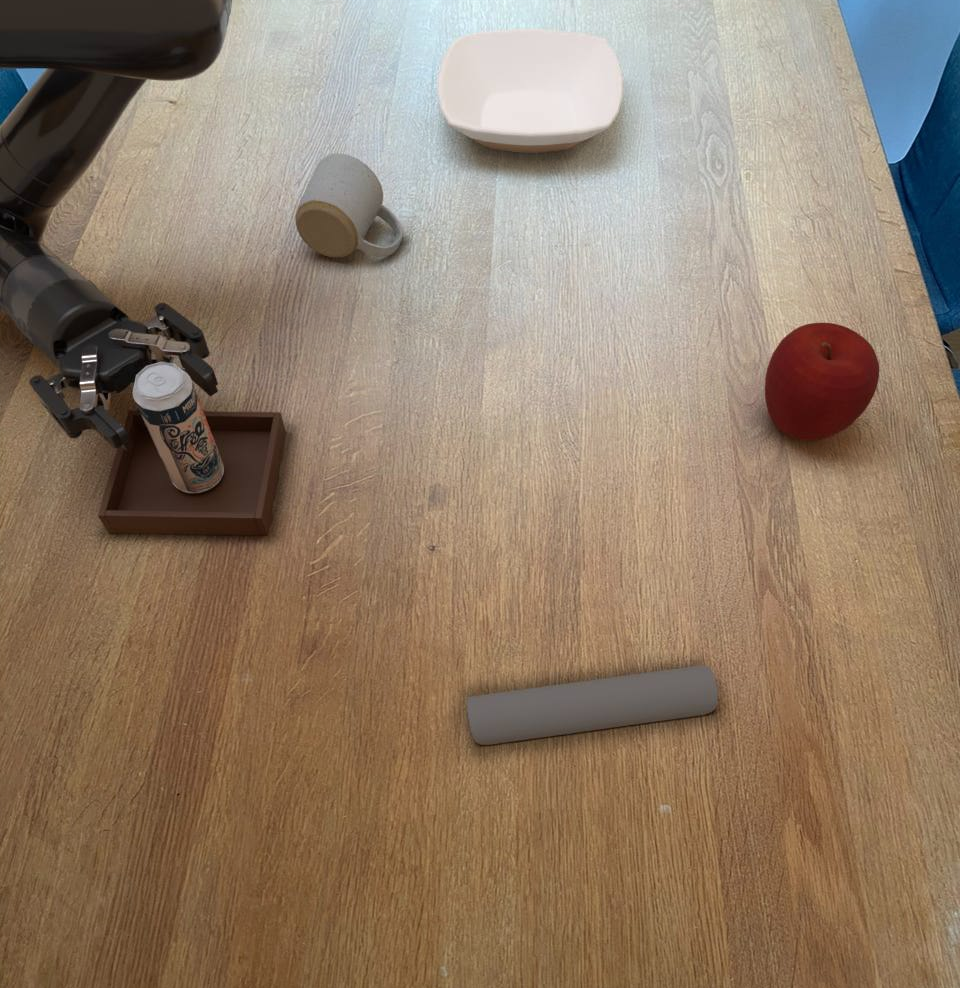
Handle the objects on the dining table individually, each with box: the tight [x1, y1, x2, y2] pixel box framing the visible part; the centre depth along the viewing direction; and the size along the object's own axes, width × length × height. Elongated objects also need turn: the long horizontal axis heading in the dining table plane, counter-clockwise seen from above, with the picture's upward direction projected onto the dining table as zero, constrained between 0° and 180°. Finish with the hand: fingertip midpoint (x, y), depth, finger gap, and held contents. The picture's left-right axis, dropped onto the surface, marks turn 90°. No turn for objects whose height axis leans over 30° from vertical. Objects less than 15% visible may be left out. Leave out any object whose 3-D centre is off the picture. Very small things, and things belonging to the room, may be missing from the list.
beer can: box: [132, 362, 224, 493], centre depth 80 cm, size 5×5×12 cm
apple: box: [764, 322, 880, 441], centre depth 85 cm, size 10×10×10 cm
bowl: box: [437, 28, 624, 154], centre depth 112 cm, size 22×22×5 cm
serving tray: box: [97, 409, 287, 537], centre depth 85 cm, size 14×12×3 cm
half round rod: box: [465, 664, 719, 746], centre depth 73 cm, size 4×20×2 cm, turn 98°
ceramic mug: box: [294, 153, 404, 258], centre depth 100 cm, size 11×8×8 cm
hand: (170, 413), depth 78 cm, fingers open, 8 cm apart
